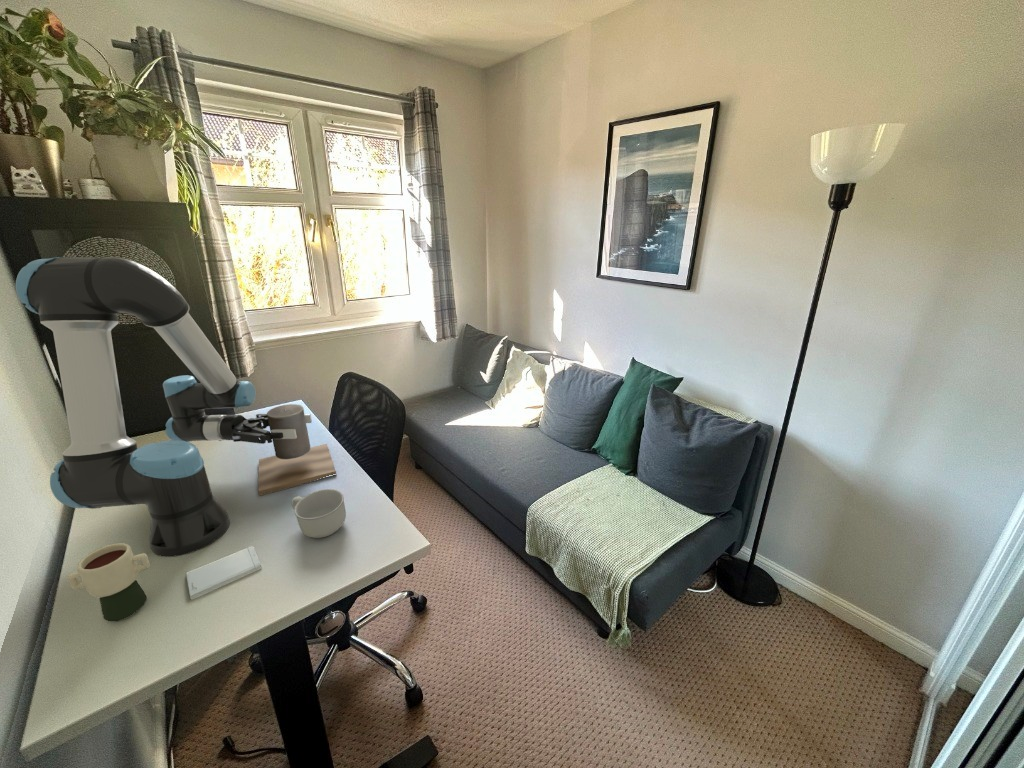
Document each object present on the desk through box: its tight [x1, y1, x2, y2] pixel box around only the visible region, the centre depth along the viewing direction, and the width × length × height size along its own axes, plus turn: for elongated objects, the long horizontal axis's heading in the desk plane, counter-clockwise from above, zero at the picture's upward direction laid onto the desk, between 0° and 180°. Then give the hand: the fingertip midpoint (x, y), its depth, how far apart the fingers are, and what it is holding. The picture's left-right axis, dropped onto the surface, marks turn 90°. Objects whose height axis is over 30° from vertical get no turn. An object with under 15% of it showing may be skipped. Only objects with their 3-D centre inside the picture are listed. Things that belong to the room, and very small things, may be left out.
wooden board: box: [258, 443, 337, 496], centre depth 126 cm, size 20×20×2 cm
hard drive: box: [185, 545, 263, 601], centre depth 87 cm, size 2×8×12 cm
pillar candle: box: [266, 403, 311, 459], centre depth 122 cm, size 10×10×15 cm
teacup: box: [290, 488, 347, 539], centre depth 99 cm, size 14×11×8 cm
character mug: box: [67, 542, 151, 623], centre depth 76 cm, size 11×7×13 cm, turn 120°
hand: (303, 425), depth 122 cm, fingers closed on pillar candle, 10 cm apart
